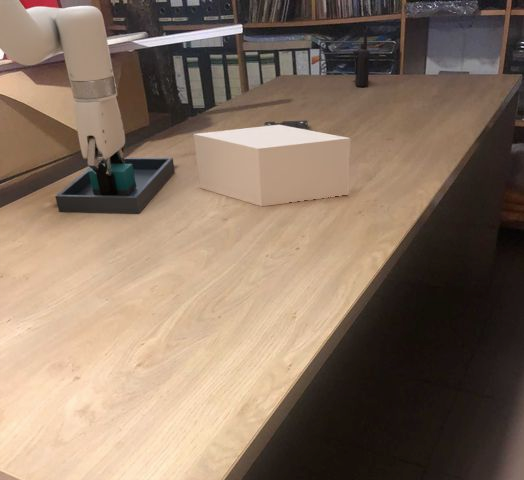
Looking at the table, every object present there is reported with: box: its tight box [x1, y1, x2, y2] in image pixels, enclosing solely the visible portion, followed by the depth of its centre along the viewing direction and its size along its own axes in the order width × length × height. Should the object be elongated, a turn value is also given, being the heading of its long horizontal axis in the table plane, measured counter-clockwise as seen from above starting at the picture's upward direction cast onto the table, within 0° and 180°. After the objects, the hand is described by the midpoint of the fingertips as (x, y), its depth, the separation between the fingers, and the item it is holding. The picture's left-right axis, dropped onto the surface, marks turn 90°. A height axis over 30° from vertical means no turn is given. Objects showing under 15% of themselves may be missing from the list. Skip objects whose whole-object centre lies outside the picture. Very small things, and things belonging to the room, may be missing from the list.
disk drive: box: [263, 120, 309, 130], centre depth 136 cm, size 10×3×15 cm
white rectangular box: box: [193, 125, 351, 207], centre depth 109 cm, size 14×29×10 cm, turn 75°
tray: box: [54, 157, 176, 215], centre depth 116 cm, size 22×16×3 cm
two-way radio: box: [352, 29, 371, 88], centre depth 174 cm, size 6×4×15 cm
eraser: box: [89, 164, 136, 195], centre depth 113 cm, size 7×4×4 cm, turn 79°
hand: (114, 188), depth 114 cm, fingers closed on eraser, 4 cm apart
